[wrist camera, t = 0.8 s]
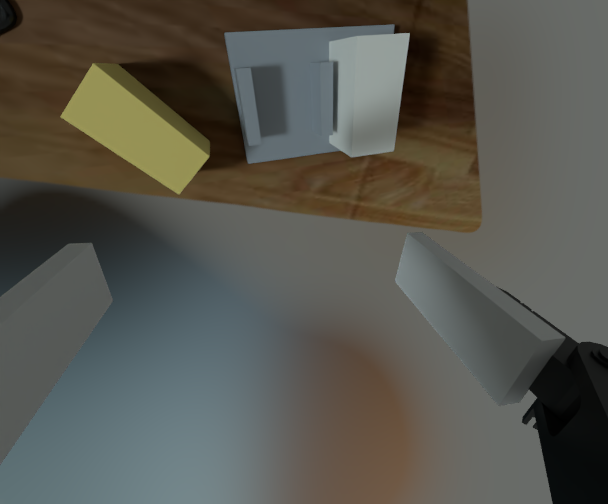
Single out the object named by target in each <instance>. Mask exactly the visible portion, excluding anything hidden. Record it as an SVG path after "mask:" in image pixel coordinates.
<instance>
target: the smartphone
mask: <svg viewBox="0 0 608 504" xmlns="http://www.w3.org/2000/svg"><path fill="white" fill-rule="evenodd" d="M16 21H17V16H16V13H15V10H14V8H13V7H12V5H11V4H10V2H9V1H8V0H0V34H1V33H3V32H5V31H7V30H9V29H10V28H12V27H13V26H14V25H15V24H16Z"/></svg>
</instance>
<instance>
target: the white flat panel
mask: <svg viewBox="0 0 608 504" xmlns="http://www.w3.org/2000/svg"><path fill="white" fill-rule="evenodd" d="M409 36H410V33H401V34H383V35H365V36H354V37H349V38H345V39H340V40H335V41H330V42H329V62H333V135H330V136H329V143H330V144H332V145H333V146H335V147H336V148H338V149H339V150H341V151H342V152H344V153H346V154H347V155H349V156H350V157H357V156H364V155H371V154H377V153H384V152H391V151H394V147H395V139H396V132H397V124H398V117H399V110H400V102H401V95H402V88H403V80H404V73H405V66H406V58H407V51H408V44H409Z"/></svg>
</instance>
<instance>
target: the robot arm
mask: <svg viewBox="0 0 608 504" xmlns="http://www.w3.org/2000/svg"><path fill="white" fill-rule="evenodd" d="M395 282H396V283H397V284H398V286H399V287H400V288H401V289H402V290H403V292H404V293H405V294H406V295H407V296H408V298H409V299H410V300H411V301H412V302H413V304H414V305H415V306H416V307H417V308H418V310H419V311H420V312H421V313H422V314H423V316H424V317H425V318H426V319H427V320H428V322H429V323H430V324H431V325H432V326H433V328H434V329H435V330H436V331H437V332H438V334H439V335H440V336H441V337H442V339H443V340H444V341H445V342H446V343H447V345H448V346H449V347H450V348H451V349H452V351H453V352H454V353H455V354H456V355H457V357H458V358H459V359H460V360H461V361H462V362H463V364H464V365H465V366H466V367H467V369H468V370H469V371H470V372H471V373H472V375H473V376H474V377H475V378H476V379H477V381H478V382H479V383H480V384H481V385H482V387H483V388H484V389H485V390H486V391H487V393H488V394H489V395H490V396H491V397H492V399H493V400H494V401H495V402H496V403H497V405H498V406H501V405H507V404H513V403H519V402H520V401H521V400H522V398H523V397H524V395H525V394H526V393H527V391H528V390H530V391H532V393H533V394H534V395H535V396H536V397H537V399H536V400H535V402H534V403H533V404H532V405H531V407H530V408H529V409H528V411H527V412H526V413H525V415H524V416H523V419H522V423H524V424H527V423H528V422H529V421H530V420H531V418H532V417H535V418H536V423H535V424H534V425H533V428H535V429H537V430H538V433H539V438H540V443H541V448H542V453H543V458H544V462H545V468H546V473H547V477H548V483H549V487H550V492H551V497H552V502H553V504H608V347H606V346H603V345H601V344H597V343H592V342H581V343H580V344H579V343H577V342H576V341H574V340H573V339H572V338H570V337H569V336H567V335H566V334H565V333H563V332H562V331H561V330H559V329H558V328H556V327H555V326H554V325H552V324H551V323H550V322H548V321H547V320H545V319H544V318H543V317H541V316H540V315H538V314H537V313H535V312H534V311H533V312H532V311H531V309H530V308H529V307H527V306H526V305H524V304H523V303H520V301H519V300H518V299H516V298H515V297H514V296H512V295H511V294H509V293H508V292H506V291H504V290H502V289H500V288H498V287H496V286H494V285H493V284H492V283H490V282H489V281H488V280H486V279H485V278H484V277H482V276H481V275H480V274H478V273H477V272H476V271H474V270H473V269H471V268H470V267H469V266H467V265H466V264H465V263H463V262H462V261H460V260H459V259H458V258H456V257H455V256H453V255H452V254H451V253H450V252H448V251H447V250H446V249H444V248H443V247H441V246H440V245H439V244H437V243H436V242H435V241H433V240H432V239H431V238H429V237H428V236H426V235H425V234H424V233H422V232H416V233H407V237H406V240H405V245H404V248H403V252H402V256H401V260H400V264H399V268H398V271H397V276H396V279H395ZM112 301H113V300H112V297H111V294H110V291H109V289H108V286H107V283H106V281H105V278H104V275H103V272H102V270H101V267H100V264H99V262H98V259H97V256H96V253H95V251H94V248H93V245H92V243H82V244H81V243H78V244H68V245H66V246H65V247H64V248H62V249H61V250H60V251H59V252H57V253H56V254H55V255H54V256H52V257H51V258H50V259H48V260H47V261H46V262H45V263H43V264H42V265H41V266H39V267H38V268H37V269H36V270H34V271H33V272H32V273H30V274H29V275H28V276H27V277H25V278H24V279H23V280H21V281H20V282H19V283H18V284H16V285H15V286H14V287H12V288H11V289H10V290H9V291H7V292H6V293H5V294H4V295H2V296H1V297H0V464H1V463H2V462H3V460H4V459H5V457H6V456H7V454H8V453H9V451H10V450H11V448H12V447H13V446H14V444H15V442H16V441H17V440H18V438H19V437H20V435H21V434H22V432H23V431H24V429H25V428H26V427H27V425H28V424H29V422H30V421H31V419H32V418H33V416H34V415H35V413H36V412H37V410H38V409H39V408H40V406H41V405H42V403H43V402H44V400H45V399H46V397H47V396H48V394H49V393H50V392H51V390H52V389H53V387H54V386H55V384H56V383H57V381H58V379H59V378H60V377H61V376H62V374H63V373H64V371H65V370H66V368H67V367H68V365H69V363H70V362H71V361H72V360H73V358H74V357H75V355H76V354H77V352H78V351H79V349H80V348H81V346H82V345H83V343H84V342H85V341H86V339H87V338H88V336H89V335H90V333H91V332H92V330H93V329H94V327H95V326H96V324H97V323H98V322H99V320H100V319H101V317H102V316H103V314H104V313H105V311H106V310H107V308H108V307H109V306H110V304H111V303H112Z"/></svg>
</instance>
